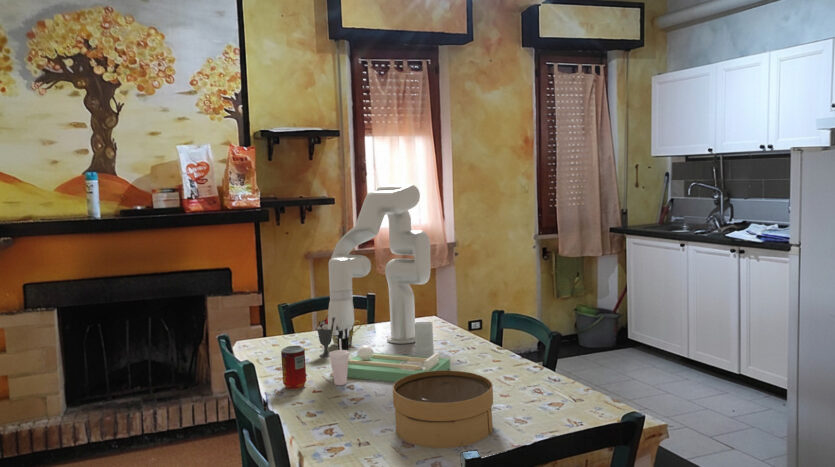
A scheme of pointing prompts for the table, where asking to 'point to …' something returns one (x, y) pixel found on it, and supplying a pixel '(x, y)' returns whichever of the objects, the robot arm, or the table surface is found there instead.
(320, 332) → the sundae
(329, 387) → the table surface
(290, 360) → the soda can
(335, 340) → the ceramic cup
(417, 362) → the green
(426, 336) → the skincare box
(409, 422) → the steamer basket
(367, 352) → the ball
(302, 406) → the table surface
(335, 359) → the smoothie
